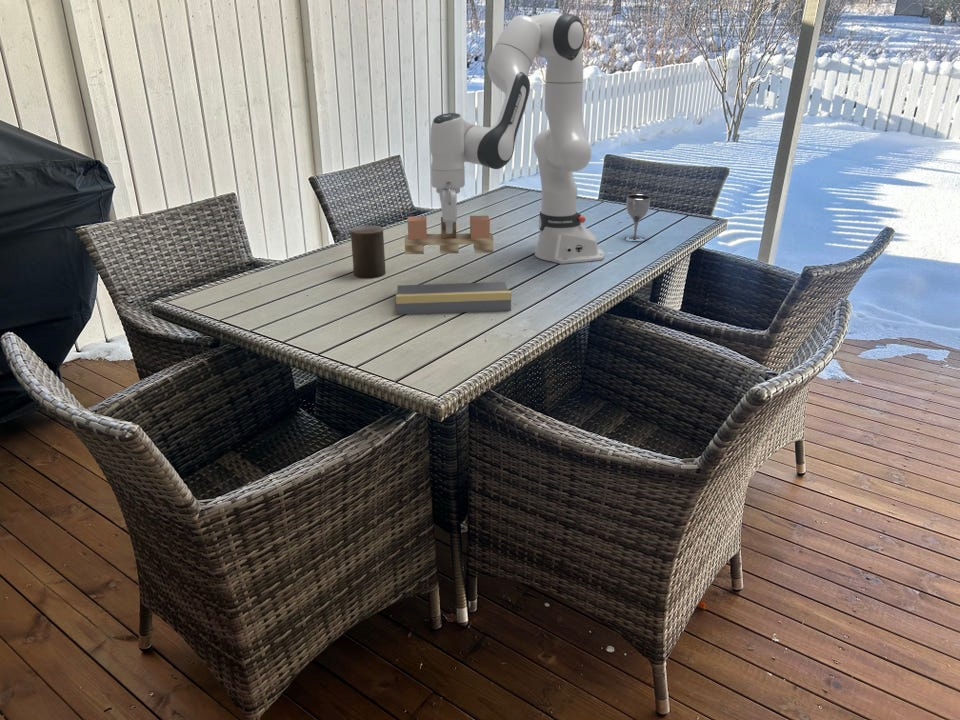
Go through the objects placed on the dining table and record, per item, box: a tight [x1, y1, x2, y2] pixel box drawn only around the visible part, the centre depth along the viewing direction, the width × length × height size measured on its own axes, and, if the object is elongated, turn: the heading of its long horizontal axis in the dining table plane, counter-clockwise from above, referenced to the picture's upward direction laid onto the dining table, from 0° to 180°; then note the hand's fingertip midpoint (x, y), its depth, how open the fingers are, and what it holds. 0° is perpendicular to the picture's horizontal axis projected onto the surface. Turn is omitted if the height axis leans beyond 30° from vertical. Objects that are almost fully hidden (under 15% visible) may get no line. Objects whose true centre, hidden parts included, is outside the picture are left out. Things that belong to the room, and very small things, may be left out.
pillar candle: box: [350, 225, 386, 279], centre depth 203 cm, size 10×10×15 cm
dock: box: [395, 281, 512, 315], centre depth 183 cm, size 30×14×5 cm, turn 95°
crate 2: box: [469, 215, 491, 239], centre depth 185 cm, size 5×5×5 cm
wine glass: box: [626, 193, 652, 240], centre depth 235 cm, size 8×8×15 cm
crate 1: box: [407, 215, 428, 240], centre depth 183 cm, size 5×5×5 cm
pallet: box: [404, 216, 494, 255], centre depth 185 cm, size 24×6×9 cm, turn 94°
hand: (448, 230), depth 184 cm, fingers closed on pallet, 3 cm apart
